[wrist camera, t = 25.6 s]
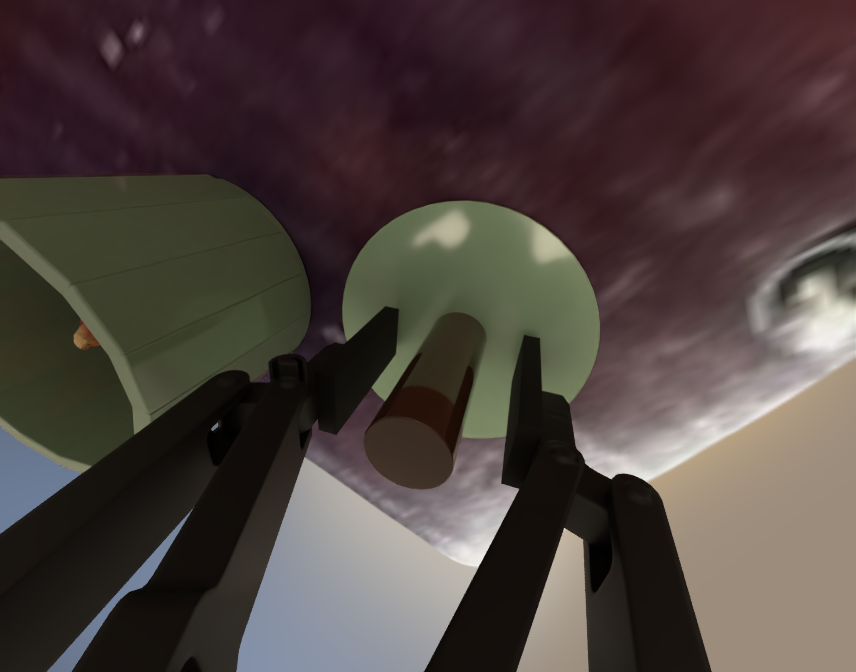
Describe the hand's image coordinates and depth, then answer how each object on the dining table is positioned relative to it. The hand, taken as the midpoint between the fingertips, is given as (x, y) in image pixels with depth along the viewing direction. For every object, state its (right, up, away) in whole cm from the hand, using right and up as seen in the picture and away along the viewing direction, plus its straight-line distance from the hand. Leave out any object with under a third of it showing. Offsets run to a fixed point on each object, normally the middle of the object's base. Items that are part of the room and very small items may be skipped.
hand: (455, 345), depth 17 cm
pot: (-15, +4, +5) cm, 16 cm away
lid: (0, +1, +1) cm, 1 cm away
